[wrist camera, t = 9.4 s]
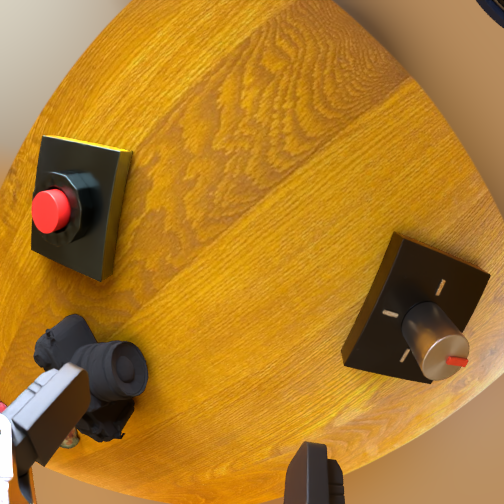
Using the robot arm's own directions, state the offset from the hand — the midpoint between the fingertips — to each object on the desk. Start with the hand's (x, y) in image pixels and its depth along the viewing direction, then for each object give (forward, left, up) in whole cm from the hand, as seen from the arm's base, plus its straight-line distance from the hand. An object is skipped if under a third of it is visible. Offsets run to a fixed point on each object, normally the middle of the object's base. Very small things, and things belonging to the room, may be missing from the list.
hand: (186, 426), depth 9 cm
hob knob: (-1, +15, -15) cm, 21 cm away
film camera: (+16, -12, -18) cm, 27 cm away
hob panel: (-1, +15, -18) cm, 23 cm away
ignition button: (-1, -18, -14) cm, 23 cm away
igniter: (-1, -18, -18) cm, 25 cm away
